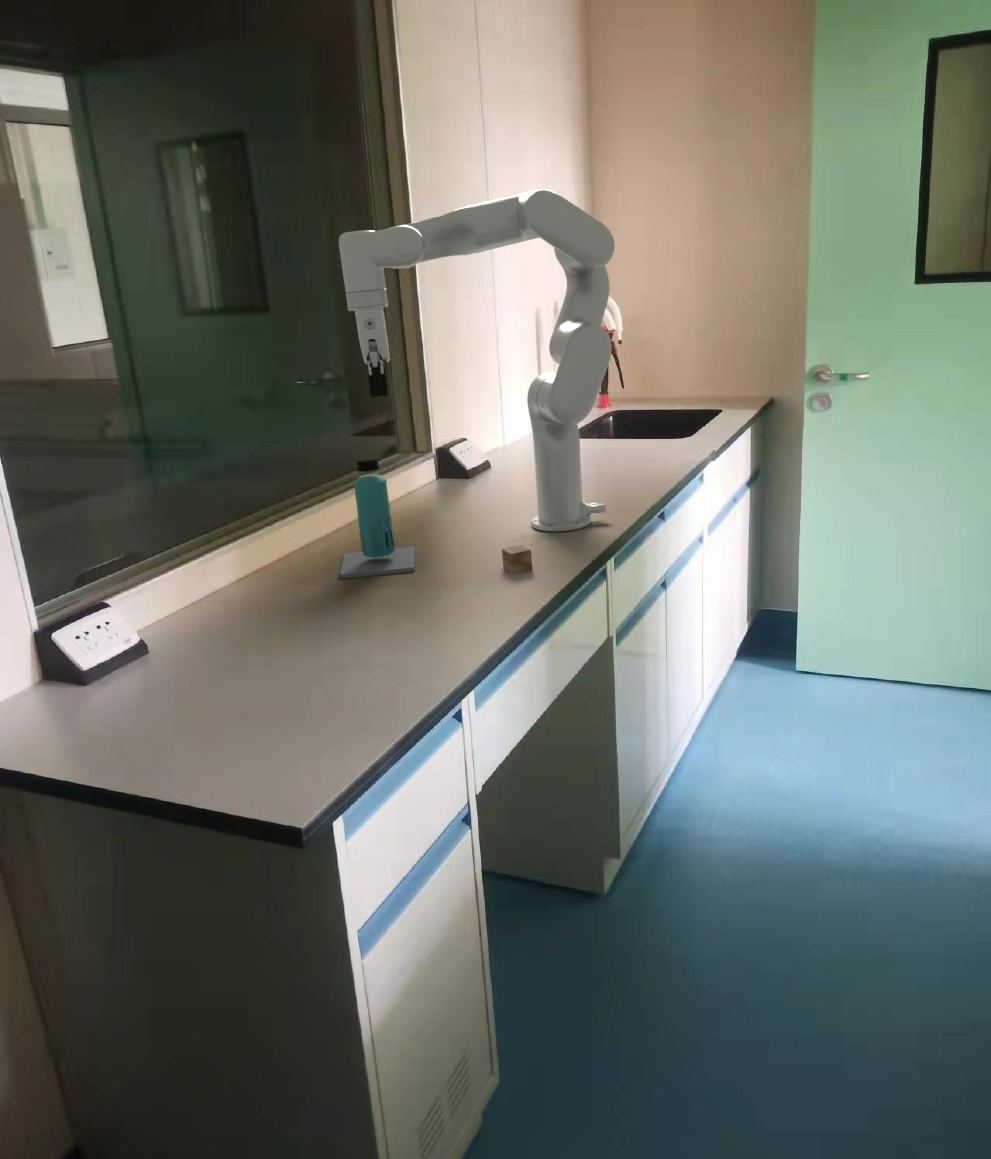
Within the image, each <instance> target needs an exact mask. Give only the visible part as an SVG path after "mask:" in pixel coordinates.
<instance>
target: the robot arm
mask: <svg viewBox="0 0 991 1159" xmlns="http://www.w3.org/2000/svg"><path fill="white" fill-rule="evenodd" d="M613 236H614V235H613V234H612V233H611V231H610V229H609V228H608V227H607V226H606V225H605V223H603V222H601V221H600V220H598V219H597V218H595V217H593V216H592V215H590V214H588V213H587V212H586V211H585V210H582V209H581V208H580V207H579V206H577V205H576V204H574V203H572V202H571V201H569V200H568V199H567V198H565V197H563V196H562V195H560V194H558V193H556V192H555V191H553V190H550V189H546V188H545V189H543V188H540V189H536V190H532V191H528V192H523V193H519V194H518V193H517V194H514V195H510V196H506V197H503V198H497V199H493V200H489V201H485V202H480V203H476V204H472V205H467V206H464V207H461V208H457V209H455V210H452V211H450V212H447V213H444V214H441V215H437V216H435V217H430V218H426V219H423V220H419V221H415V222H411V223H406V224H402V225H397V226H396V225H395V226H391V227H389V228H385V229H380V230H370V229H367V230H355V231H354V230H353V231H348V232H344V233H341V234H340V236H339V239H338V248H339V254H340V260H341V269H342V270H341V271H342V276H343V284H344V289H345V296H346V297H345V298H346V303H347V311H348V312H354V314H355V322H356V328H357V335H358V340H359V341H358V342H359V344H360V345H359V346H360V350H361V351H360V352H361V354H362V359H363V362H364V363H365V364H366V365H367V367H368V369H367V370H368V375H367V378H368V385H369V392H370V397H371V398H379V397H386V396H388V394H389V391H388V380H387V374H386V373H387V372H386V367H384V366H385V365H384V360H386V363H388V362H390V361H391V356H390V348H389V339H388V331H387V324H386V323H387V322H386V318H385V312H384V308H388V307H389V301H388V294H387V286H386V278H385V268H386V269H409V268H410V269H411V268H412V267H414V266H416V265H417V264H419V263H424V262H428V261H432V260H437V259H441V258H446V257H447V258H448V257H454V256H455V257H456V256H467V255H468V256H469V255H473V254H479V253H484V252H487V251H490V250H494V249H500V248H503V247H507V246H510V245H514V244H518V243H523V242H527V241H531V240H532V241H533V240H535V239H541V240H543V241H544V242H545V243H547V244H549V245H550V246H551V247H553V248H554V249H553V250H554V255H555V257H556V260H557V261H558V263H559V264H560V266H561V268H562V269H563V270H562V271H563V272H564V274H565V278H566V291H565V295H564V299H563V302H562V306H561V309H560V312H559V314H558V317H557V319H556V323H555V326H554V328H553V331H552V334H551V337H550V340H549V344H548V350H549V355H550V357H551V359H552V360H553V361H554V362H555V363H556V364H558V367H557V369H556V371H547V372H543V373H541V374H539V375H538V376H536V378H534V379H533V381H532V382H531V383H530V386H529V387H528V391H527V409H528V414H529V419H530V424H531V425H530V426H531V431H532V440H533V441H532V442H533V454H534V455H533V456H534V457H533V458H534V469H535V471H534V472H535V485H536V500H537V515H536V516H534V517H533V518H532V519H531V520H530V521H531V527H532V528H533V529H536V530H538V531H544V532H568V531H575V530H579V529H583V528H586V527H587V526H589V525H590V524H591V523H592V517H591V516H592V514H605V513H607V508H606V503H598V502H591V503H587V502H585V500H584V496H583V483H582V481H583V480H582V479H583V478H582V465H581V464H582V461H581V459H582V458H581V441H580V431H579V424H580V423H582V422H583V421H584V420H585V419H586V418H588V417H589V415H590V414H591V411H592V409H593V408H594V405H595V403H596V400H597V397H598V396H599V392H600V390H601V388H602V387H601V386H602V383H603V381H604V378H605V375H606V372H607V370H608V368H609V363H610V361H611V356H612V341H611V337H610V334H609V333H608V331H607V330H606V328H605V327H603V326H602V322H603V319H604V316H605V312H606V308H607V305H608V301H609V297H610V278H609V275H608V274H609V273H608V271H607V268H606V265H607V264H608V263H609V262H610V261H611V259H612V258H613V256H614V253H615V248H616V247H615V239H614V237H613Z"/></svg>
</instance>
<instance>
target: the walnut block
mask: <svg viewBox="0 0 991 1159" xmlns="http://www.w3.org/2000/svg"><path fill="white" fill-rule="evenodd" d="M501 555H502V556H501V557H502V568H503V570H504V571H506V572H508V573H509V574H511V575H517V574H521V573H526V572H531V571H533V560H532V549H531V548H528V547H526V546H524V545H523V544H518V545H514V546H513V545H512V546H509V547H505V548H501Z"/></svg>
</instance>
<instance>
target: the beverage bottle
mask: <svg viewBox="0 0 991 1159" xmlns="http://www.w3.org/2000/svg"><path fill="white" fill-rule="evenodd" d="M379 469H380V465H379V460H378V458H377V457H373V456H371V457H370V456H369V457H363V458H362V457H361V458H359V459H357V461H356V470H357V472H361V473H363V472H364V473H365V472H373V471H378V470H379ZM353 487H354V494H355V496H354V497H355V503H356V510H357V511H356V512H357V518H358V520H357V522H358V528H359V530H358V533H359V537H360V542H361V543H360V545H361V551H362V552H363V554H364V555H365V556H367V557H382V556H387V555H390V554H392V553H393V552H394V549H395V548H396V544H395V538H394V536H395V534H394V530H393V522H392V515H391V505H390V498H389V494H388V493H389V492H388V485H387V479H386V478H385V477H383V476H382V475H380V474H378V473H370V474H364V475H363V474H362V475H359V476H358V477H357V479H355V481H354V482H353Z"/></svg>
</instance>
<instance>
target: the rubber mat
mask: <svg viewBox="0 0 991 1159" xmlns="http://www.w3.org/2000/svg"><path fill="white" fill-rule="evenodd" d="M415 564H416V549H415V546H406V547H397V548H396V547H395V549H394V552H393V553H392V554H390V555H387V556H382V557H367V556H365V555H364V554H363V551H353V552H345V553H344V555H343V558H342V562H341V568H340V571H339V579H348V578H349V579H351V578H360V577H371V576H381V575H391V574H401V573H402V574H403V573H413V572H415V571H416V570H415V569H416V565H415Z"/></svg>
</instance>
